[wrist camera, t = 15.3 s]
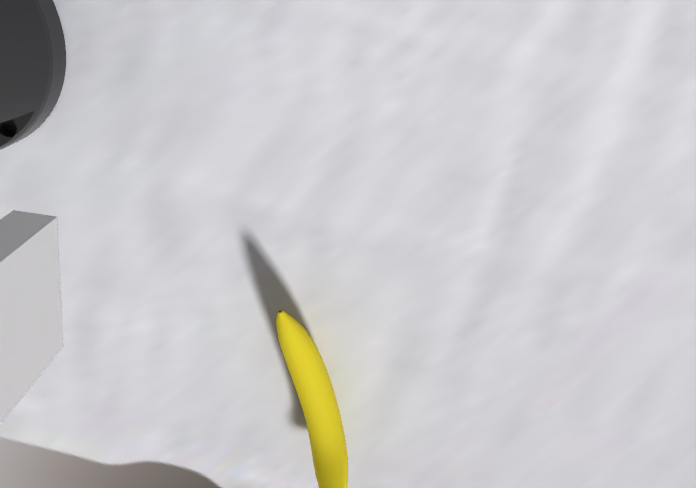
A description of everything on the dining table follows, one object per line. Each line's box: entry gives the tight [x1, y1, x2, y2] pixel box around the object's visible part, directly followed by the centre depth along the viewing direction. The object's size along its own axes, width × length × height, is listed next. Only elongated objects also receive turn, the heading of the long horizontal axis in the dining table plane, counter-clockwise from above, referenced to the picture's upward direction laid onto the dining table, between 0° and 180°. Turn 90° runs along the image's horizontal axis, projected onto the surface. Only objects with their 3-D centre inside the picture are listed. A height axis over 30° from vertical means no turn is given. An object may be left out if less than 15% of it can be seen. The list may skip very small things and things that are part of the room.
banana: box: [276, 310, 348, 488], centre depth 48 cm, size 3×19×6 cm, turn 12°
